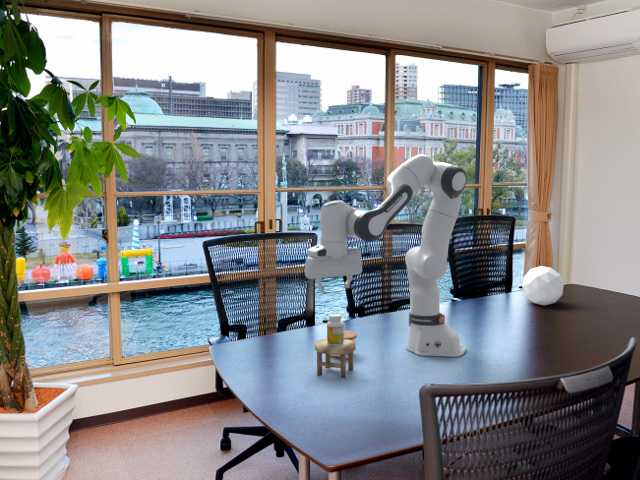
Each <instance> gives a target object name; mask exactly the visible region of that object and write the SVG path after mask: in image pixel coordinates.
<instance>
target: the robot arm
mask: <svg viewBox="0 0 640 480" xmlns="http://www.w3.org/2000/svg"><path fill="white" fill-rule="evenodd" d="M467 180H468V179H467V173H466V170H465V169H464V168H462V167H460V166H458V165H457V164H451V163H449V162H448V163H447V162H443V161H433V160H432V159H431V158H430V157H429V156H428V155H426V154H422V153H421V154H417V155H414V156H413V157H412V156H411V157H410V158H409V159H407V160H406V161H404V162H402V163H401V164H400V165H399V166H398V167H397V168H395V170H393V171H392V172H391V173H390V174H389V176H387V178H386V182H385V183H386V184H385V185H386V189H387V192H388V194H389V196H388V197H387V198H385V199H384V201H383V202H381V204H380V205H379V206H378V207H377V208H374V209H371V210H363V209H362V210H361V209H358V208H355V207H354V206H351V205H349V204H347V203H346V202H345V201H344V200H341V199H339V200H338V199H336V200H330V201H327V202H325V203H324V204H323V205H322V206H321V209H320V219H319V220H320V221H319V222H320V225H319V228H320V232H321V235H320V243H319V244H316V245H314V246H311V247H309V248H307V250H306V255H307V257H306V259H305V263H304V276H305V278H307V279H309V280H315V283H316V284H317V286H318V292H325V291H326V289H325V287H326V286H325V285H323V284H322V283H321V282H322V281H323V280H322V279H327V278H335V277H345V276H346V281H345V282H343V289H350V288H351V287H350V285H351V282H352V280H353V277H354V276H355V275H361V274H362V272H363V265H362V263H363V262H362V251H361V249H360V248H358V247H348V245H347V244H348V237H351V238H354V239H359V240H361V241H365V242H367V243H372V242H376V241H378V240H380V239H381V237H382V236H383V235H384V234H385V232H386V231H387V227H389V224H390V223H391V222H392V221H394V219H395V218H396V217H397V216H398V214H399V213H401V212H402V210H403V209H404V208H405V207H406V206H407V205H408V204H409V203H410V202H411V200H412V197H413V196H414V195H415V194H417V192H420V190H421V189H426V190H429V191H431V192H433V198H432V201H431V203H430V205H429V208H428V210H427V213H426V216H425V218H424V221H423V224H422V226H421V227H422V228H421V241H420V245H419V246H413V247H411V248H409V250H407V251H406V254H405V257H404V261H405V265H406V270H407V272H406V273H407V279H408V284H409V293H410V294H409V295H410V296H409V297H410V298H409V300H410V303H409V305H410V310H409V313H408V327H409V330H408V331H409V332H408V335H407V336H408V337H407V341H406V345H405V349H406V350H407V351H408V352H409V351H410V352H412V353H414V354H415V355H417V356H423V357H424V356H425V357H426V356H427V357H455V358H457V357H458V358H459V357H461V356H463V355H464V354H465V353H466V350H467V348H466V346H465V345H464V344H463V343H460V342H461V341H460V336H459V334H458V332H457V331H456V330H454V329H453V328H452V327H451V326H449V325H448V324H447V323H446V321H445V320H446V317H445V316H446V315H445V313H444V314H443V313H442V312H440V305H441V304H440V303H441V302H440V301H441V299H440V296H441V293H440V289H439V288H438V282H437V281H439V280H440V279H442V278H443V277H444V276H445V275H446V273H448V272H447V271H448V261H447V260H448V252H449V245H450V240H451V236H452V234H453V231H454V227H455V226H456V225H455V224H456V221H457V218H458V216H459V213H460V209H461V204H462V197H463V195H462V192H463V190H465V187H466V185H467Z"/></svg>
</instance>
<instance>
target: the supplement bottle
mask: <svg viewBox="0 0 640 480" xmlns="http://www.w3.org/2000/svg"><path fill="white" fill-rule="evenodd" d="M328 320H329V321H327V323H326V339H327V344H328V345H330V346H341V345H343V344H344V330H345V328H344V322H343V321H342V314H341V313H330V314H329V316H328Z"/></svg>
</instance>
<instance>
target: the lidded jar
mask: <svg viewBox="0 0 640 480" xmlns="http://www.w3.org/2000/svg"><path fill="white" fill-rule="evenodd" d="M357 336H358V335H357V333H356V332H355V331H353V330H347V329H344V339H348V340H351V341H353V342H355V344H356V345H357ZM346 356H348V354H346Z"/></svg>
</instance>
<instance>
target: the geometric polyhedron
mask: <svg viewBox="0 0 640 480" xmlns="http://www.w3.org/2000/svg"><path fill="white" fill-rule="evenodd" d="M564 285H565V283H564V281H563V278H562V274H561V273H559V272H558V271H557V270H555V269H554V268H552V267H549V266H544V265H539V266H537V267H533V268H530V269H529V270H528V271H527V273H526V274H525V275H524V276H523V281H522V289H523V293H524V297H525V298H527V299H528V300H529V301H531V302H532V303H533V304H536V305H541V306H545V307H546V306H547V305H552V304H555V303H556V302H557V301H558V300H559V299H560V298H561V297H562V296H563V293H564Z"/></svg>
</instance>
